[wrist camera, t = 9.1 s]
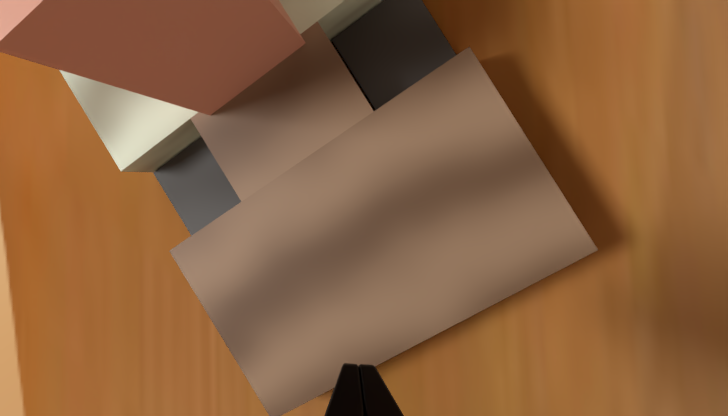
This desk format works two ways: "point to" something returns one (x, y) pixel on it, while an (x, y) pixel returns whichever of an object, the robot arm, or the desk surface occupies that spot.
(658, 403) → the desk surface
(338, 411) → the robot arm
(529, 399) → the desk surface
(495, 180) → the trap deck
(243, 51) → the brick block
